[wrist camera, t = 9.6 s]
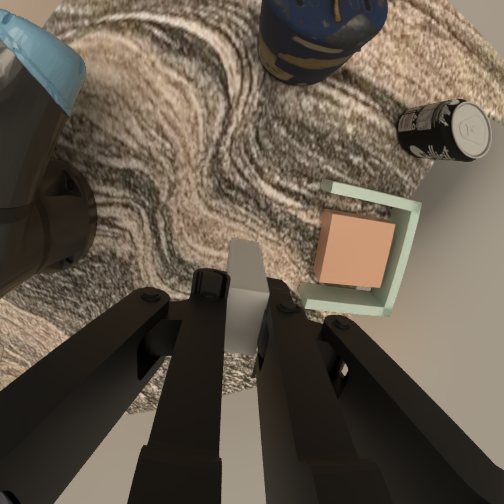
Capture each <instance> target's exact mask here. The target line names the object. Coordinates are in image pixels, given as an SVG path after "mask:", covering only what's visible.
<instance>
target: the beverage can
mask: <svg viewBox="0 0 504 504" xmlns="http://www.w3.org/2000/svg"><path fill="white" fill-rule="evenodd" d="M398 135H399V139H400V142H401V144H402V146H403V147H404V148H405V150H406V151H407V152H408V153H410V154H411V155H413V156H415V157H418V158H428V159H441V160H453V161H464V162H470V161H473V160H475V159H477V158H481V157H483V156H484V155H485V154H486V153H487V152H488V150H489V148H490V145H491V141H492V129H491V125H490V121H489V119H488V117H487V115H486V113H485V112H484V110H483V109H482V108H481V107H480V106H479V105H477V104H475V103H473V102H469V101H466V100H463V99H453V100H448V101H443V102H438V103H433V104H428V105H424V106H419V107H415V108H411V109H408V110H407V111H405V112H404V113H403V115H402V116H401V118H400V120H399V124H398Z"/></svg>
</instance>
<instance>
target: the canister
mask: <svg viewBox="0 0 504 504" xmlns="http://www.w3.org/2000/svg"><path fill="white" fill-rule="evenodd" d="M387 14H388V3H387V0H262V5H261V15H260V25H259V36H258V54H259V57H260V60H261V62H262V64H263V66H264V67H265V68H266V69H267V71H268V72H269V73H270V74H272V75H273V76H274V77H276V78H277V79H279V80H281V81H283V82H286V83H289V84H293V85H302V86H303V85H311V84H315V83H318V82H320V81H322V80H324V79H326V78H327V77H328V76H329V75H330V74H332V73H333V72H334V71H336V70H337V69H338V68H339V67H341V66H342V65H343V64H344V63H345V62H347V61H348V60H349V59H350V57H351V56H352V55H353V54H354V53H356V52H360V51H361V47H362V46H363V45H365V44H366V43H367V42H368V41H370V40H371V39H372V38H373V37H375V36H376V35H377V34H378V33H379V31H380V30H381V29H382V27H383V26H384V23H385V21H386V18H387Z"/></svg>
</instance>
